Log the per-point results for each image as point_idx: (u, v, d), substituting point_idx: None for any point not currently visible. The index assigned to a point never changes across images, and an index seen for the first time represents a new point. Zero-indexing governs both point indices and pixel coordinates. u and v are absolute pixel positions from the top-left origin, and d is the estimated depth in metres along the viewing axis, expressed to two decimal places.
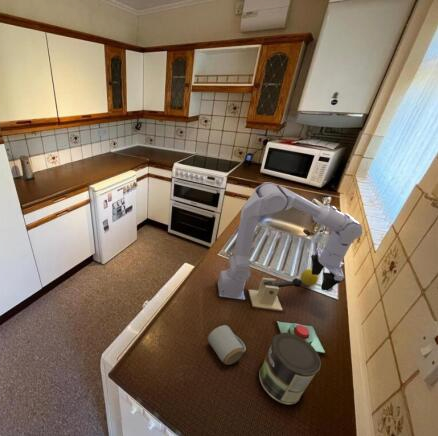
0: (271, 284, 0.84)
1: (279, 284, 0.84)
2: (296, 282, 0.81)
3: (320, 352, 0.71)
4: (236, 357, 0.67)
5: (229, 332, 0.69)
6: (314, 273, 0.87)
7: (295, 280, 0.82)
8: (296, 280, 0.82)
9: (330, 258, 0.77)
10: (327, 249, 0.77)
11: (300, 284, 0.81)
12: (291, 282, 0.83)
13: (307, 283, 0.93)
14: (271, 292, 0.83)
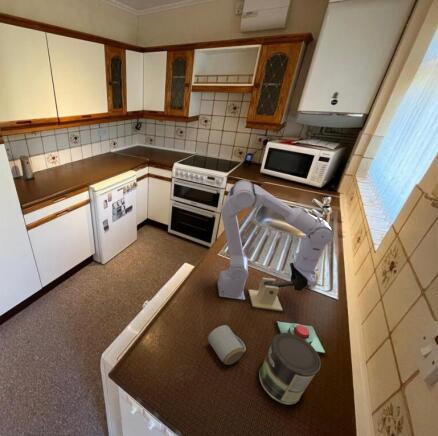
0: (271, 284, 0.84)
1: (279, 284, 0.84)
2: None
3: (320, 352, 0.71)
4: (236, 357, 0.67)
5: (229, 332, 0.69)
6: None
7: (295, 280, 0.82)
8: None
9: (304, 263, 0.76)
10: (300, 253, 0.76)
11: None
12: (291, 282, 0.83)
13: None
14: (271, 292, 0.83)
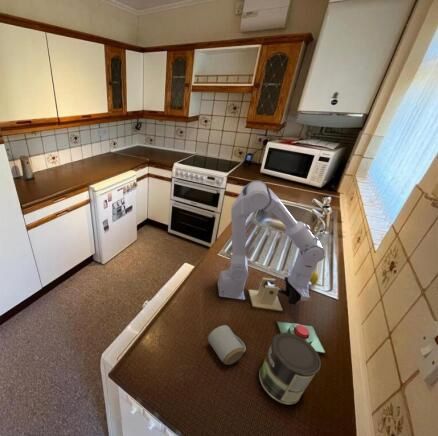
0: (273, 285, 0.84)
1: None
2: None
3: (320, 352, 0.71)
4: (236, 357, 0.67)
5: (229, 332, 0.69)
6: None
7: None
8: None
9: (297, 279, 0.79)
10: (294, 269, 0.80)
11: None
12: (288, 293, 0.85)
13: None
14: (271, 292, 0.83)
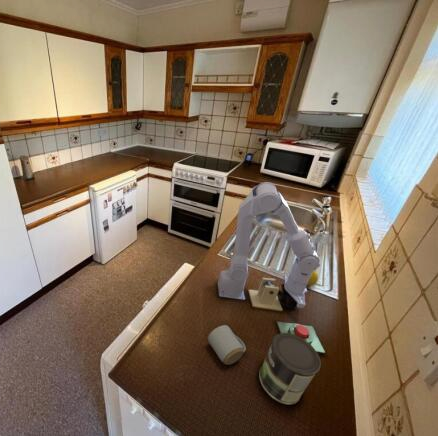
0: None
1: None
2: None
3: (320, 352, 0.71)
4: (236, 357, 0.67)
5: (229, 332, 0.69)
6: None
7: None
8: None
9: (294, 286, 0.81)
10: (290, 276, 0.81)
11: None
12: (285, 295, 0.86)
13: (307, 283, 0.93)
14: (271, 292, 0.83)
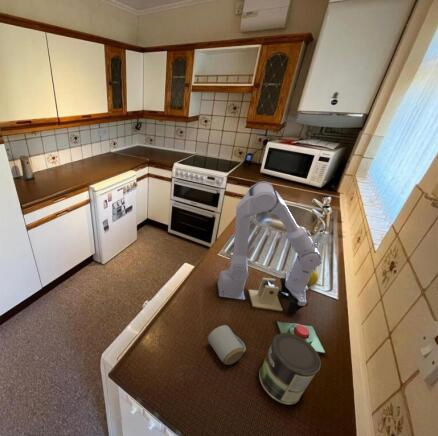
0: None
1: None
2: (292, 296, 0.85)
3: (320, 352, 0.71)
4: (236, 357, 0.67)
5: (229, 332, 0.69)
6: None
7: (292, 294, 0.85)
8: (293, 295, 0.85)
9: (295, 284, 0.80)
10: (291, 274, 0.81)
11: None
12: (287, 294, 0.85)
13: (307, 283, 0.93)
14: (271, 292, 0.83)
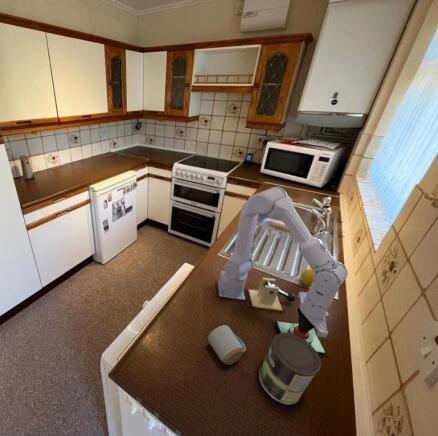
0: None
1: None
2: (292, 296, 0.85)
3: (320, 352, 0.71)
4: (236, 357, 0.67)
5: (229, 332, 0.69)
6: None
7: (292, 294, 0.85)
8: (293, 295, 0.85)
9: (313, 309, 0.66)
10: (307, 293, 0.68)
11: (293, 300, 0.85)
12: (287, 294, 0.85)
13: (307, 283, 0.93)
14: (271, 292, 0.83)
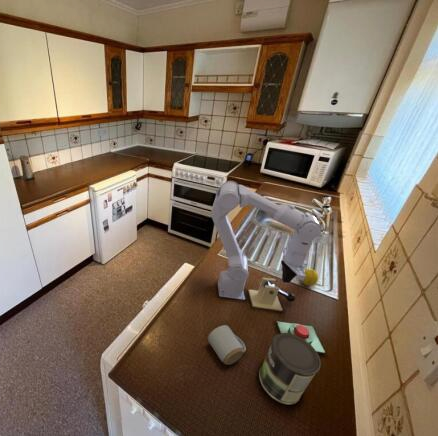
0: None
1: None
2: (292, 296, 0.85)
3: (320, 352, 0.71)
4: (236, 357, 0.67)
5: (229, 332, 0.69)
6: None
7: (292, 294, 0.85)
8: (293, 295, 0.85)
9: (293, 258, 0.76)
10: (289, 247, 0.77)
11: (293, 300, 0.85)
12: (287, 294, 0.85)
13: (307, 283, 0.93)
14: (271, 292, 0.83)
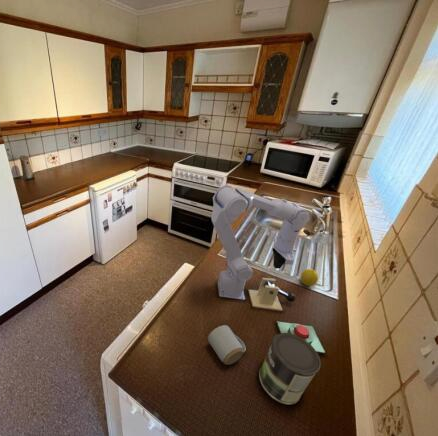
0: None
1: None
2: (292, 296, 0.85)
3: (320, 352, 0.71)
4: (236, 357, 0.67)
5: (229, 332, 0.69)
6: None
7: (292, 294, 0.85)
8: (293, 295, 0.85)
9: (283, 244, 0.83)
10: (282, 237, 0.82)
11: (293, 300, 0.85)
12: (287, 294, 0.85)
13: (307, 283, 0.93)
14: (271, 292, 0.83)
